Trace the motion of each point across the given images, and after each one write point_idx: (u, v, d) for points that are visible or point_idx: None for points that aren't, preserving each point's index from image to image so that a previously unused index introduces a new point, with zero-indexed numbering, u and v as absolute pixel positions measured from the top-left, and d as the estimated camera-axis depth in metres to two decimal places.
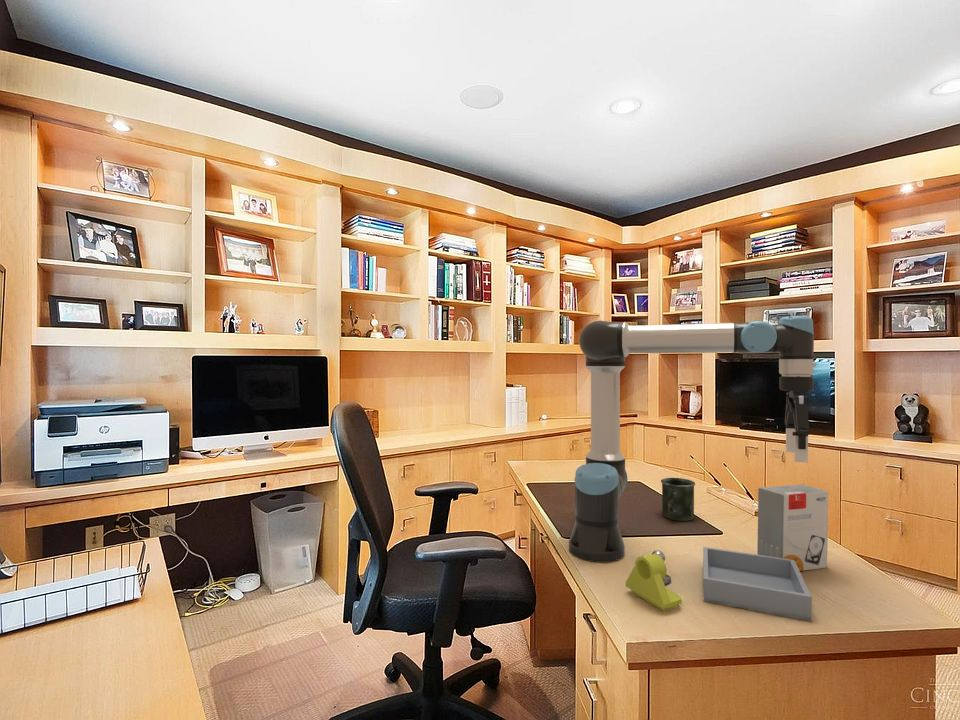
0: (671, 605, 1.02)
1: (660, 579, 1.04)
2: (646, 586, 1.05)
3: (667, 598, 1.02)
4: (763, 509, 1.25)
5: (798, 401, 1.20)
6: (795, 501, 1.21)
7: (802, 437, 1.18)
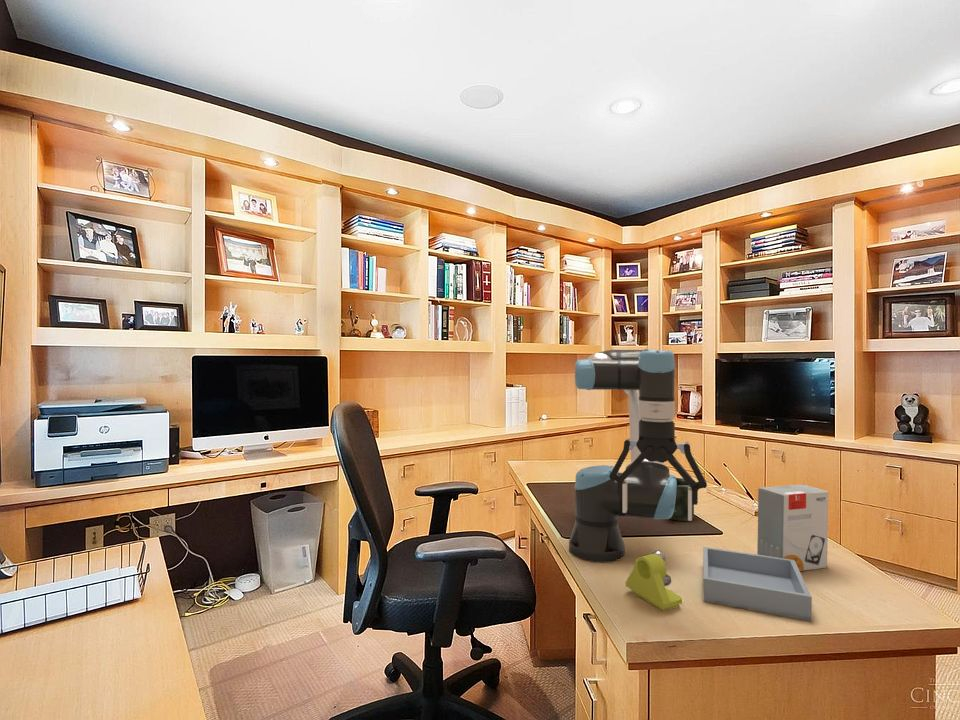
0: (671, 605, 1.02)
1: (660, 579, 1.04)
2: (646, 586, 1.05)
3: (667, 598, 1.02)
4: (763, 509, 1.25)
5: None
6: (795, 501, 1.21)
7: (617, 482, 1.11)
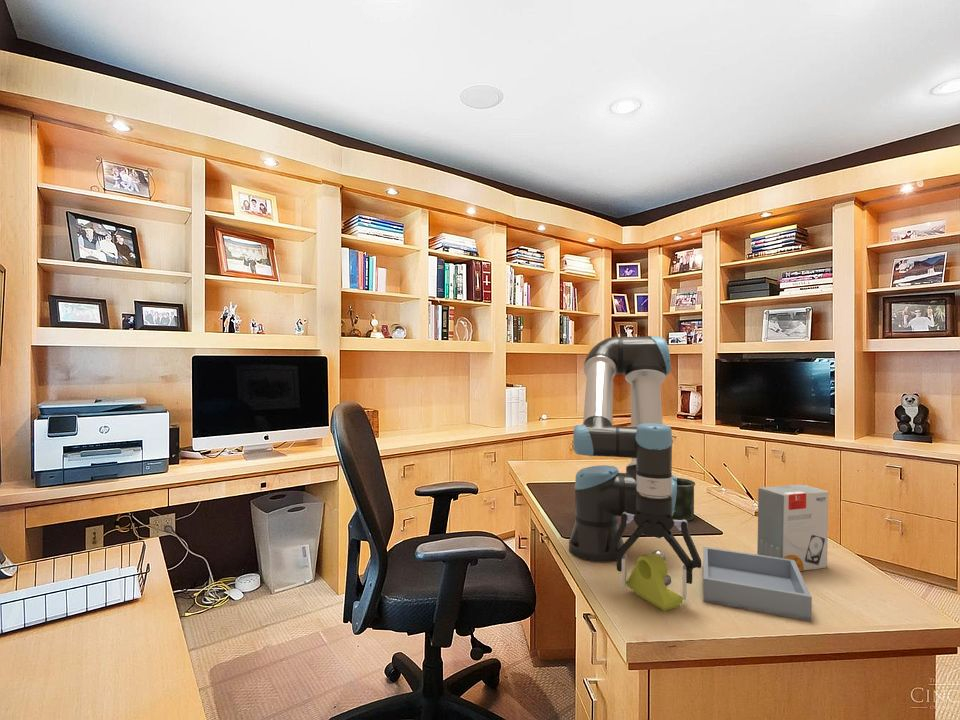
0: (672, 605, 1.02)
1: (661, 579, 1.03)
2: (647, 586, 1.05)
3: (668, 598, 1.02)
4: (763, 509, 1.25)
5: None
6: (795, 501, 1.21)
7: (617, 556, 1.10)
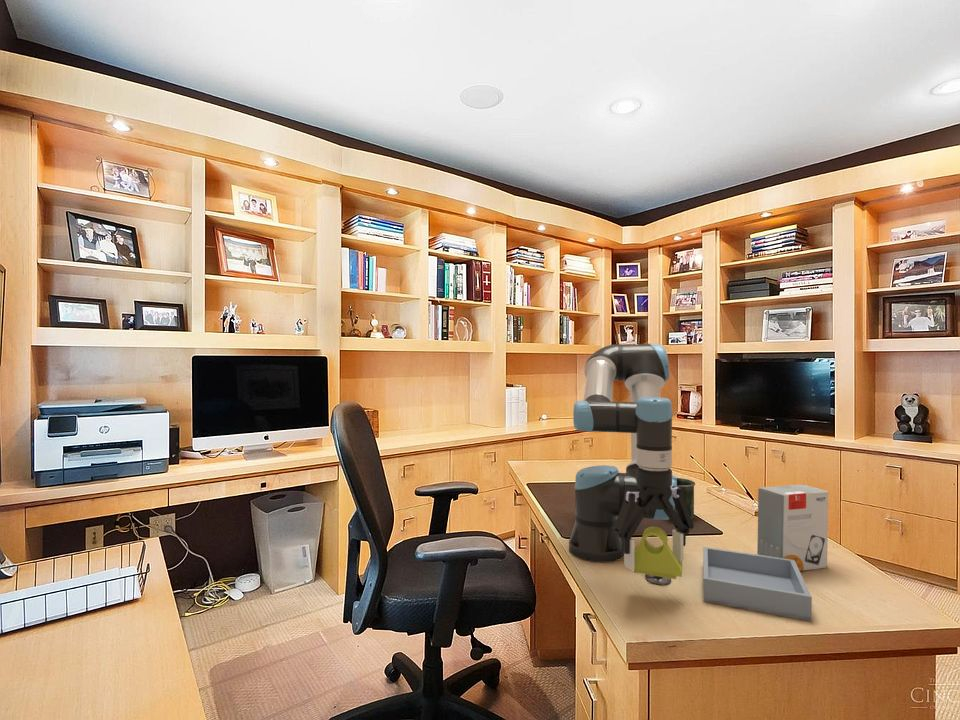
0: None
1: (670, 549, 1.05)
2: (657, 560, 1.04)
3: (679, 565, 1.04)
4: (763, 509, 1.25)
5: (625, 498, 1.06)
6: (795, 501, 1.21)
7: (623, 539, 1.05)
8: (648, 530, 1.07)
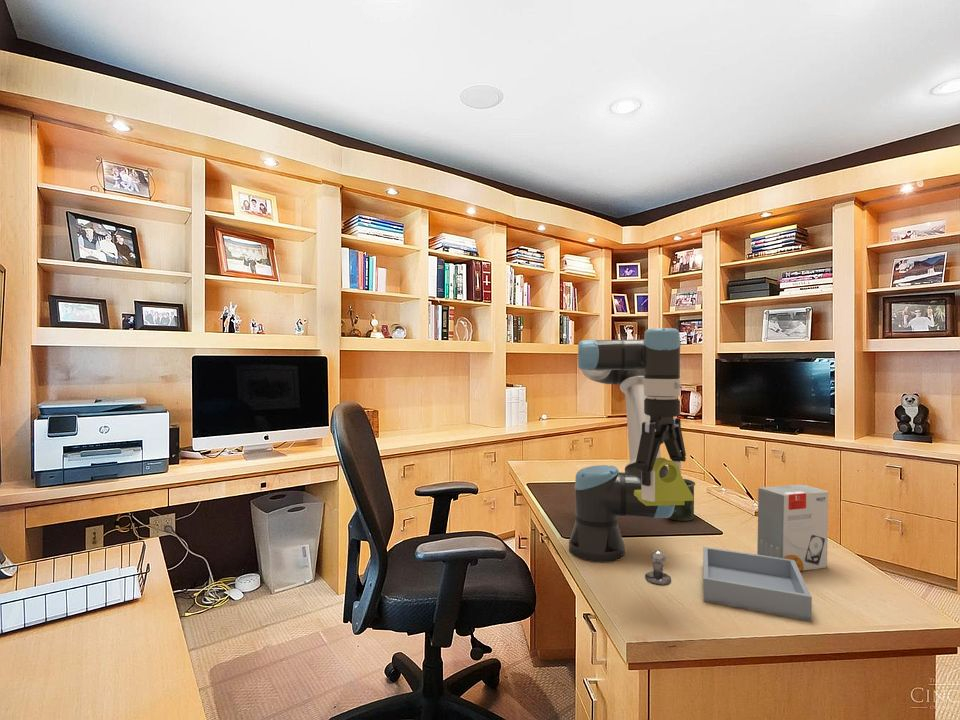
0: None
1: None
2: (671, 488, 1.05)
3: None
4: (763, 509, 1.25)
5: (644, 429, 1.03)
6: (795, 501, 1.21)
7: (644, 471, 1.02)
8: (659, 461, 1.06)
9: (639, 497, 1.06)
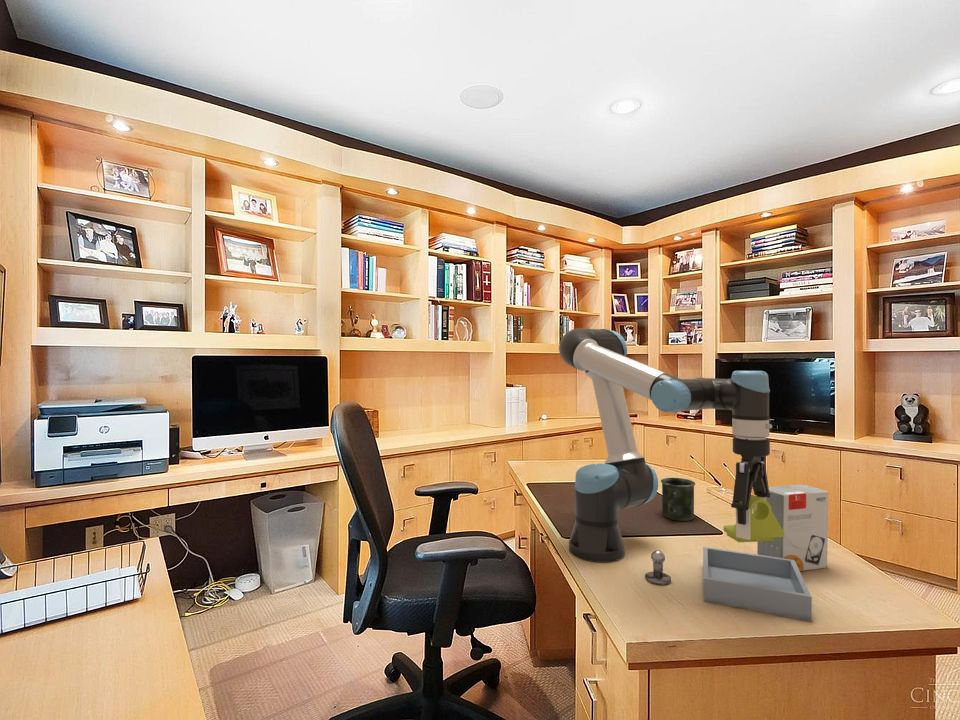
0: None
1: None
2: (764, 525, 1.09)
3: None
4: None
5: (738, 469, 1.07)
6: (795, 501, 1.21)
7: (740, 511, 1.06)
8: (750, 498, 1.10)
9: (732, 534, 1.10)
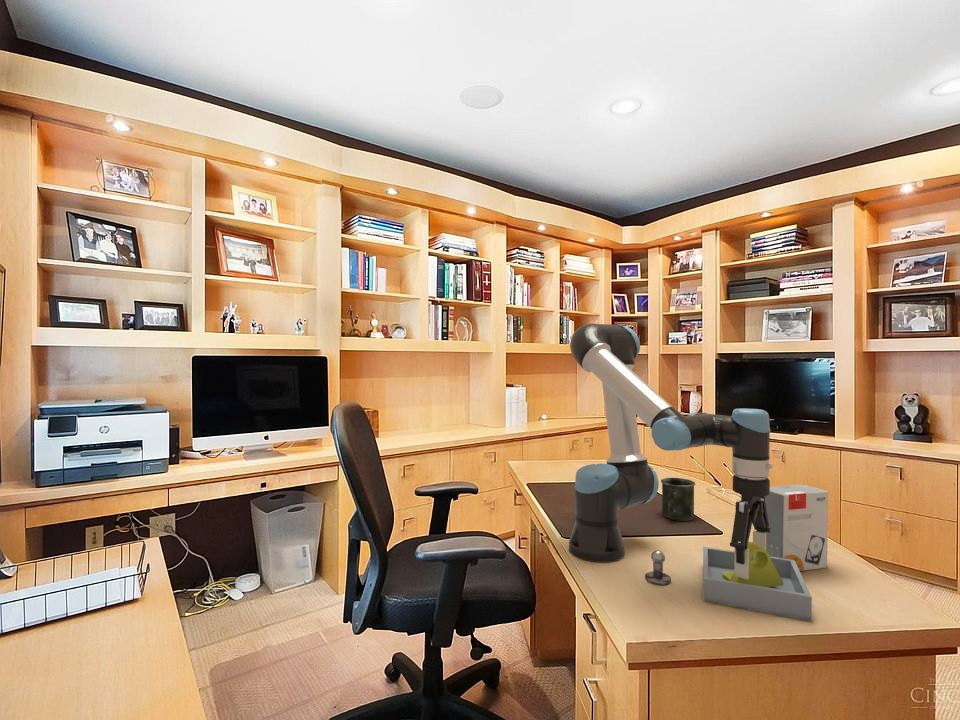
0: None
1: None
2: (762, 574, 1.09)
3: None
4: None
5: (738, 508, 1.07)
6: (795, 501, 1.21)
7: (739, 550, 1.06)
8: (749, 547, 1.10)
9: None
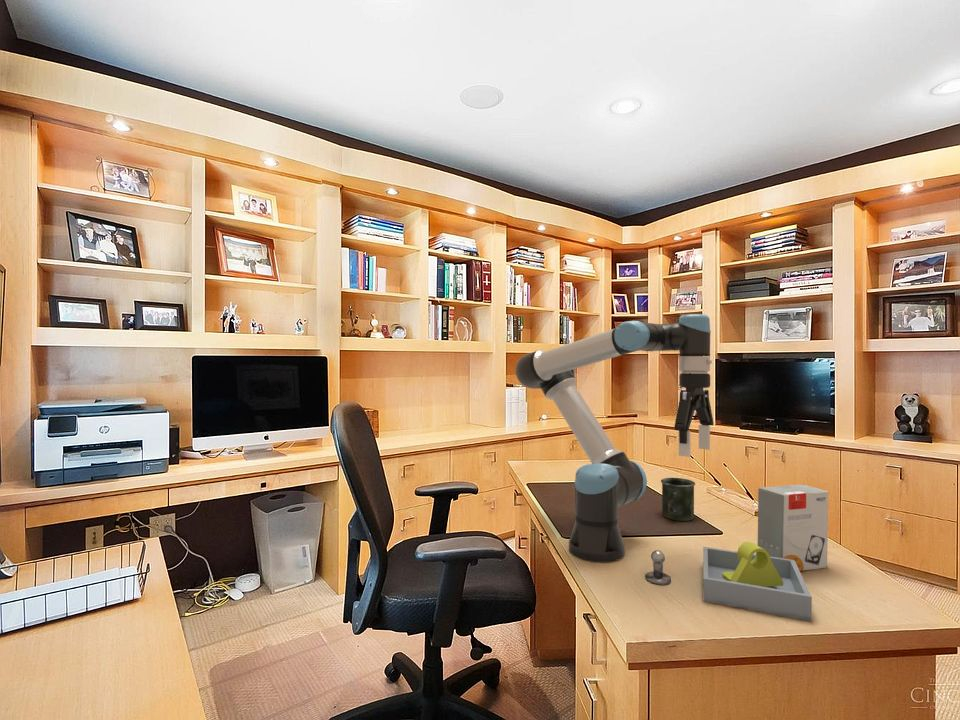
0: None
1: None
2: (762, 574, 1.09)
3: None
4: (763, 509, 1.25)
5: (682, 397, 1.24)
6: (795, 501, 1.21)
7: (682, 432, 1.22)
8: (749, 547, 1.10)
9: None
